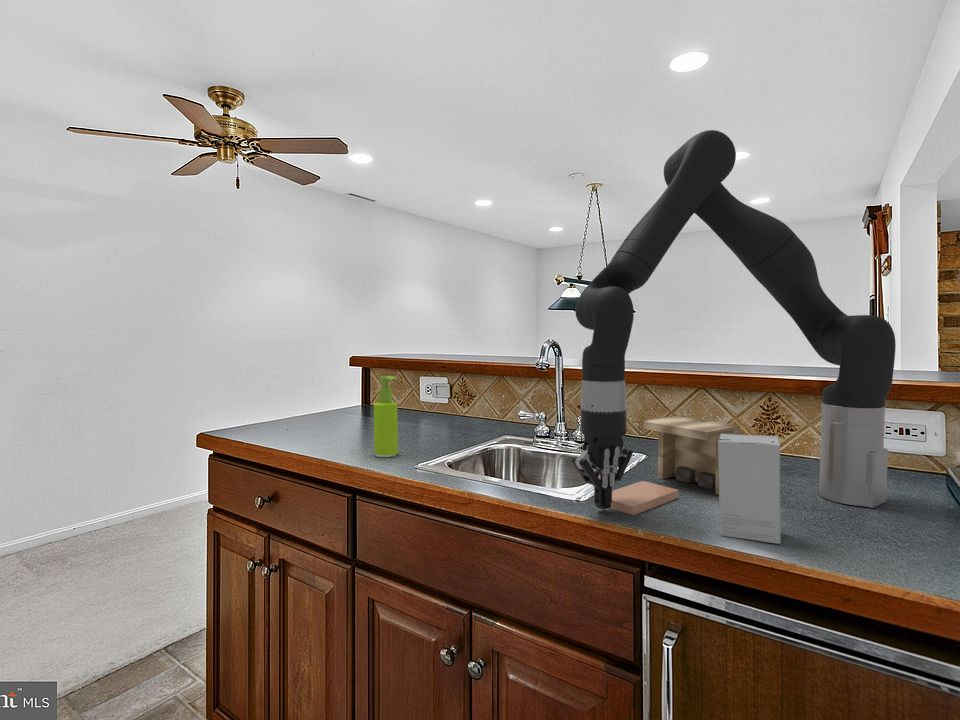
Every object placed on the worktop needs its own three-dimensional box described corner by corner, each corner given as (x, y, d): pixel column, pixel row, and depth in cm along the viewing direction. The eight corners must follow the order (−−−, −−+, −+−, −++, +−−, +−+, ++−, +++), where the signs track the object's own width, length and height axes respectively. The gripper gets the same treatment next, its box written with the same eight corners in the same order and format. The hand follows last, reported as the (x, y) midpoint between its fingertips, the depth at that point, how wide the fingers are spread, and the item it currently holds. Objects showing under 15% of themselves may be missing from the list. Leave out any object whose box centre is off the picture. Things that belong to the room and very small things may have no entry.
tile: (678, 500, 95) (678, 489, 94) (632, 518, 86) (633, 506, 86) (642, 490, 100) (642, 480, 100) (597, 506, 92) (597, 495, 92)
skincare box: (779, 532, 78) (781, 435, 77) (780, 547, 73) (783, 443, 72) (718, 522, 82) (720, 431, 81) (716, 536, 77) (717, 438, 76)
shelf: (738, 489, 99) (740, 425, 98) (705, 500, 93) (707, 432, 92) (675, 473, 111) (676, 415, 110) (642, 481, 104) (642, 421, 104)
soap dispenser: (384, 460, 124) (382, 377, 123) (370, 454, 129) (368, 375, 128) (404, 456, 128) (403, 376, 127) (390, 451, 133) (389, 374, 132)
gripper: (592, 413, 80) (592, 522, 81) (646, 405, 87) (646, 505, 88) (558, 407, 86) (559, 509, 87) (612, 400, 93) (612, 494, 94)
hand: (603, 507), depth 87 cm, fingers closed
